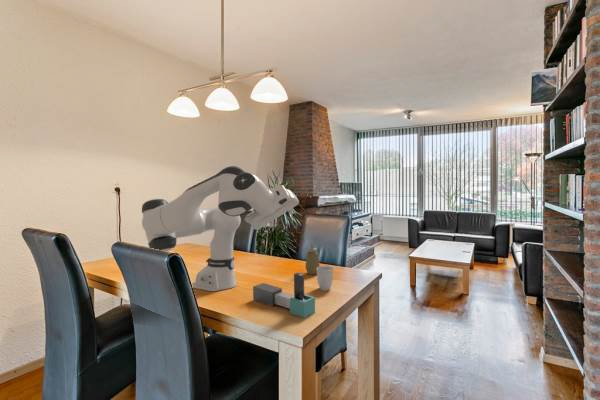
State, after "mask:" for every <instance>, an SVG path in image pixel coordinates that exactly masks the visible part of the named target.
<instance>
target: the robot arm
mask: <svg viewBox="0 0 600 400" xmlns="http://www.w3.org/2000/svg"><path fill="white" fill-rule="evenodd" d="M215 193H218V205H217V206H218V207H209V208H204V209H201V210H199V209H200V207H201V205H202V203H203V201H205V200H206V198H208V197H209V196H211V195H213V194H215ZM299 203H300V200H299V199H298V197H297V195H295V193H294V192H292V190H290V189H287V188H285V186H284V185H283V184H281V185H278V186H275V187H271V188H268V187H267V185H266V184H265V182H263V181H262V179H261V178H260V177H258V176H257V175H256V174H253V173H251V172H248V171H245V170H244V169H243V168H241V167H239V166H237V165H235V166H234V165H230V166H226V167H225V168H223V169H221V170H220V171H219V172H217V173H216V174H214V175H213V176H210V177H208V178H207V179H205V180H202V181H201V182H199V183H196V184H194V185H192V186H191V187H189V188H186V190H185V191H183V193H181V194H179V196H178V197H177V198H175V199H174V200H172V201H169V202H168V201H167V200H165V199H163V198H152V199H150V200H147V201H145V202H144V203H142V206H141V213H142V220H141V225H142V228H143V230H144V232H145V235H146V240H147V242H148V243H147V244H148V247H149V249H150V248H154V249H159V250H163V251H167V252H169V251H171V250H172V249H174V248H175V247H176V245H177V241H178V240H177V239H181V238H187V237H191V236H196V235H201V234H203V233H206V232H208V231H209V232H210V231H214V233H213V237H212V239H211V241H210V242H209V249H210V252H209V253H210V257H208V258H207V259H206V260H205V263H207V265H206V266H204V267H203V268H202V269H201V270H200V271H198V272H197V274H196V275H195V276H196V277H195V281H193V282H192V283H191V284H192V285H193V288H192V289H197V290H203V291H207V292H208V291H209V292H218V291H222V290H223V291H224V290H227V289H231V288H234V287H236V286H237V285H238V283H237V279H236V275H235V257H234V240H235V239H234V238H235V235H236V232H237V230H238V228H239V227H240V225H241V223H242V222H241V221H242V219H241V216H242V215H244V214H245V213H247V214H246V215H245V217H244V221H245V222H246V223H247V224H250V226H251V227H252V228H253V229H254V230H255V231H256V230H257V231H259V230H261V229H262V228H264V227H269V228H274V226H275V225H274V222H273V221H274V220H276V219H277V218H279V217H281V216H282V215H284V214H285V213H287V212H288V214H289V215H291V216H292V215H293V214H295V212H294V208H295V207H296V206H298V205H299ZM252 208H253V210H252ZM251 210H252V211H251ZM249 211H251V212H249ZM248 212H249V213H248Z"/></svg>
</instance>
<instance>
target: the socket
mask: <svg viewBox="0 0 600 400" xmlns="http://www.w3.org/2000/svg"><path fill="white" fill-rule="evenodd" d="M304 298H305V299H308V300H306V301H301V300H298V299H295V298H290V309H289V314H291V315H294V316H297V317H300V318H303V319H306V318H307V317H310V316H311V315H313V314H315V313H316V297H315V296H311V295H308V294H305V293H304Z"/></svg>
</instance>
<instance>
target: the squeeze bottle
mask: <svg viewBox="0 0 600 400" xmlns="http://www.w3.org/2000/svg"><path fill="white" fill-rule="evenodd" d="M317 251H318V249H317V248H316V247H315V243H314V241H311V243H310V247H308V250H307V252H306V256H305V258H306V259H305V270H306V272H307V274H308V275H310V276H317V267H320V266H321V265H320V257H319V252H317Z"/></svg>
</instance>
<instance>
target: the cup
mask: <svg viewBox="0 0 600 400" xmlns="http://www.w3.org/2000/svg"><path fill="white" fill-rule="evenodd" d="M316 279H317V283H318V287H319V289H320V290H321V291H330V290H331V288H332V285H333V279H334V267H332V266H329V265H320V267H317V274H316Z"/></svg>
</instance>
